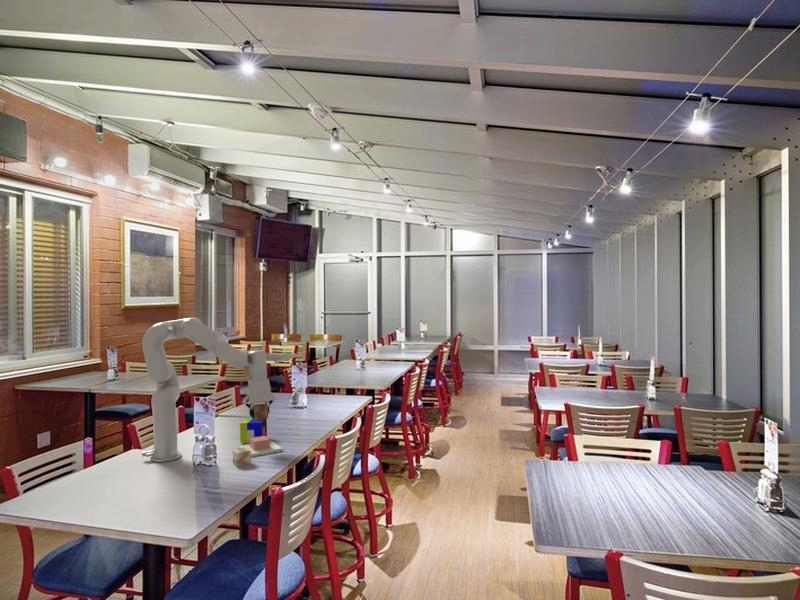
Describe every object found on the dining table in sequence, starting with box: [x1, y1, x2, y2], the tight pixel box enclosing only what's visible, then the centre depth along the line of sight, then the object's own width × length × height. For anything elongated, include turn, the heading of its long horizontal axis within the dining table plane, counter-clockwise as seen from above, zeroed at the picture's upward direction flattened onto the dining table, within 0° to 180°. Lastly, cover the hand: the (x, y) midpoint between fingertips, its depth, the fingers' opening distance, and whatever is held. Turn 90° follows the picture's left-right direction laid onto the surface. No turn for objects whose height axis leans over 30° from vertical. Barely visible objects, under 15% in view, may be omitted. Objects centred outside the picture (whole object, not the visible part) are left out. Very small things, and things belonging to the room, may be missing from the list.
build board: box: [237, 436, 283, 458], centre depth 234 cm, size 16×16×5 cm
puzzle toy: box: [239, 417, 268, 443], centre depth 249 cm, size 10×10×10 cm
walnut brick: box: [250, 402, 269, 420], centre depth 234 cm, size 6×6×6 cm
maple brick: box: [232, 447, 252, 468], centre depth 215 cm, size 6×6×6 cm
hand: (259, 415), depth 234 cm, fingers closed on walnut brick, 6 cm apart
